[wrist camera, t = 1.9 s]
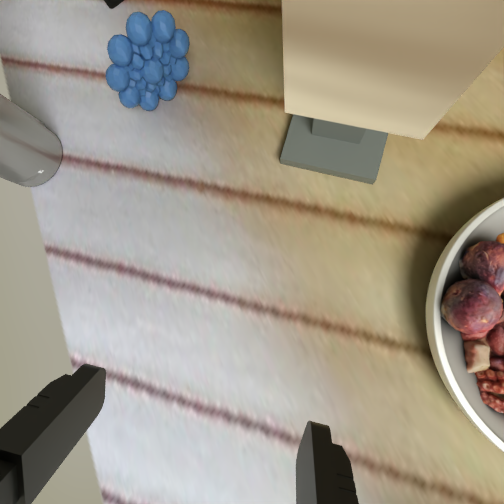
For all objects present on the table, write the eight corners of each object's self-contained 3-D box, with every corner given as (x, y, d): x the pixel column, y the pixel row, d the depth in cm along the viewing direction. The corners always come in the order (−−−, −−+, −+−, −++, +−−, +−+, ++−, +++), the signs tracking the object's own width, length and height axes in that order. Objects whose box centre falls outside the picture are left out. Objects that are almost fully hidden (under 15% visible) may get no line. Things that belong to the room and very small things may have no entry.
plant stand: (368, 199, 37) (742, -240, 6) (276, 177, 39) (226, -241, 8) (406, 56, 39) (834, -811, 8) (316, 42, 41) (395, -705, 10)
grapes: (188, 53, 43) (150, -37, 31) (211, 87, 42) (181, 6, 30) (122, 97, 43) (60, 25, 32) (144, 132, 42) (87, 70, 30)
